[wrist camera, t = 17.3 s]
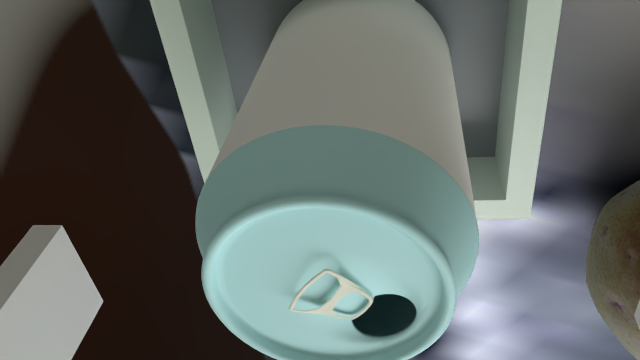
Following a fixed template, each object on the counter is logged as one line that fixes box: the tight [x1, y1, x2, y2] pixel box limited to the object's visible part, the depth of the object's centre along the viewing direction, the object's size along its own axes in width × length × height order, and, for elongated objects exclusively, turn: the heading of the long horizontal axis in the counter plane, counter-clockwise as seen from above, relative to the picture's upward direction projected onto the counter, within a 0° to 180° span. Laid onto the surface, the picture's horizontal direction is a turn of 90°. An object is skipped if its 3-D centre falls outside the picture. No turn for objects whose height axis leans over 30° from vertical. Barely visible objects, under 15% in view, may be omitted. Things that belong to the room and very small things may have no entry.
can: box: [196, 0, 479, 360], centre depth 17 cm, size 7×7×12 cm
